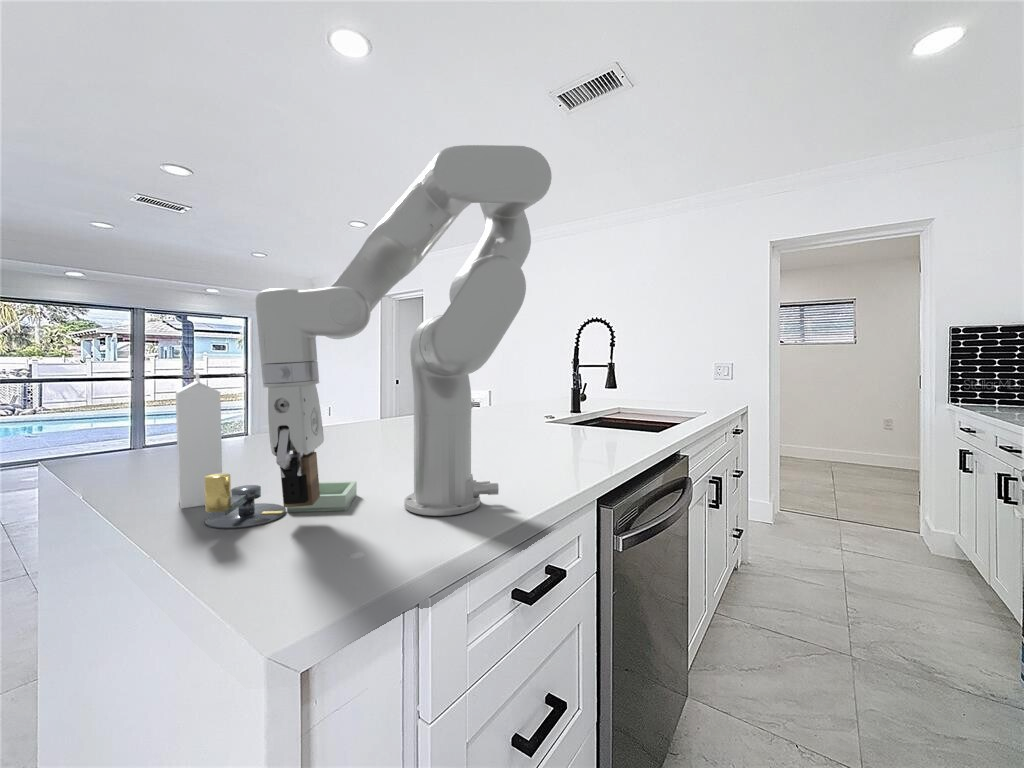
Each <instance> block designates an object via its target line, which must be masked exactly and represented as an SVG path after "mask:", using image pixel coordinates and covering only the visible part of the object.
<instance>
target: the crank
mask: <svg viewBox="0 0 1024 768" xmlns="http://www.w3.org/2000/svg"><path fill="white" fill-rule="evenodd" d="M231 485H232V484H231V474H230V473H222V474H213V475H208V476H206V477H205V505H204V507H205V508H204V511H205V512H206V513H210V514H211V516H226V515H227V514H229V513H230V512H232V511H233V510H235V509H236V508H238V507H239V506H240V505H242V504H243V503H245V502H246V501H248V500H253V499H254V500H256V499H259V498H261V496H262V488H261V486H260V485H258V484H257V485H256V484H247V485H240V486H236V487H233V488H232V487H231Z"/></svg>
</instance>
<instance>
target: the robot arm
mask: <svg viewBox="0 0 1024 768" xmlns="http://www.w3.org/2000/svg"><path fill="white" fill-rule="evenodd" d="M551 184H552V170H551V166H550V164H549V162H548V160H547V158H546V157H545V156H544V155H543V154H542V153H541V152H540V151H539V150H536V149H534V148H532V147H530V146H529V147H528V146H525V145H500V144H499V145H494V144H493V145H488V144H487V145H486V144H481V145H479V144H472V145H471V144H462V145H454V146H449V147H448V146H447V147H446V148H444V149H441V150H440V151H439V152H438V153H437V154H435V156H434V157H433V159H432V160H431V161H430V162H429V163H428V164H427V166H426V167H425V169H423V171H422V172H421V174H419V175H418V177H417V178H416V179H415V180H414V181H413V183H412V184H411V185H409V187H408V189H406V190H405V192H404V193H403V194H402V195H401V197H400V198H399V199H398V200H397V201H396V202H395V203H394V204H393V206H392V207H391V208H390V210H388V211H387V213H386V214H385V215H384V216H383V217H382V218H381V220H380V221H379V222H378V223H377V224H376V225H375V227H374V229H372V230H371V232H370V234H368V236H367V238H366V240H365V241H364V242H363V245H362V246H361V248H360V249H359V250H358V252H357V253H356V255H355V256H354V257H353V259H352V260H351V261H350V262H349V263H348V265H347V266H346V267H345V268H344V270H343V271H342V272H341V273H340V275H338V276H337V278H336V279H335V280H334V282H333V283H332V284H331V285H330V286H329V287H323V288H321V287H320V288H314V289H298V288H287V287H284V288H283V287H282V288H281V287H279V288H268V289H264V290H261V291H259V292H258V293H257V295H256V297H255V311H256V313H255V314H256V325H257V333H258V335H257V336H258V345H259V347H258V348H259V357H260V364H261V365H260V368H261V378H262V388H267V408H268V409H267V417H268V419H267V420H268V435H269V443H270V450H271V454H272V455H273V456H275V457H276V459H275V460H276V464H277V466H279V469H280V468H281V470H280V478H281V477H282V481H281V487H282V486H283V493H282V498H283V497H284V503H285V504H298V503H306V502H307V501H308V490H307V478H306V475H303V454H304V455H308V454H309V453H311V452H315V451H316V449H318V448H319V447H320V446H321V445H322V444H323V443H324V440H325V435H324V427H323V420H322V412H321V411H322V410H321V405H320V397H319V393H318V389H317V384H320V376H319V362H318V352H317V351H318V350H317V340H316V338H317V336H318V337H319V336H320V337H325V338H329V339H332V340H345V339H349V338H352V337H356V336H358V335H359V334H360V333H361V332H363V331H364V330H365V328H367V326H368V325H369V322H370V319H371V315H372V311H373V310H374V308H375V307H377V305H378V304H379V302H381V300H382V299H383V298H384V297H385V296H386V295H387V294H388V293H389V291H391V290H392V288H393V287H395V286H396V285H397V284H398V283H399V282H401V281H403V279H404V278H405V277H407V276H408V275H409V274H411V273H412V272H413V271H414V270H415V268H416V267H418V266H419V265H420V263H421V262H422V261H423V260H424V259H425V258H426V256H427V255H428V254H429V252H430V251H431V250H432V249H433V248H434V247H435V245H436V243H437V242H438V241H439V240H440V239H441V238H442V236H443V235H444V234H445V232H446V231H448V229H450V226H451V225H453V223H454V222H455V220H456V219H457V218H458V217H459V216H460V214H461V213H462V212H463V211H464V210H465V209H466V208H468V207H469V206H470V205H472V204H479V205H480V210H481V211H482V215H483V218H484V223H485V226H484V227H485V229H484V231H483V233H482V236H481V237H480V240H479V242H477V245H476V246H475V248H474V249H473V251H472V252H471V254H470V255H469V257H467V260H466V261H465V263H464V264H463V266H462V267H461V268H460V269H459V271H458V272H457V273H456V274H455V276H454V278H453V280H452V282H451V284H450V288H449V293H448V295H449V302H450V304H449V306H448V307H447V309H445V311H444V313H443V314H441V315H436V316H433V317H430V318H428V319H426V320H424V321H423V322H421V324H419V326H417V328H416V330H415V331H414V333H413V335H412V337H411V341H410V350H409V355H410V366H411V374H412V375H411V376H412V385H413V386H412V387H413V493H410V494H409V495H406V497H405V498H404V501H403V502H404V508H405V509H406V510H407V511H408V512H411V513H414V514H417V515H421V516H429V517H431V516H432V517H442V516H443V517H444V516H457V515H461V514H465V513H469V512H471V511H474V510H476V509H477V508H478V507H479V506H480V505H481V496H480V495H488V496H495V495H499V493H500V492H499V483H498V482H491V481H490V480H489V481H488V480H487V481H485V480H484V481H477V480H476V479H475V480H474V476H473V473H472V389H471V382H470V376H469V375H470V374H472V373H474V372H477V371H478V370H480V369H481V368H483V366H484V365H486V363H487V362H488V360H489V359H490V357H492V355H493V354H494V352H495V350H496V349H497V348H498V346H499V344H500V343H501V341H502V339H503V338H504V336H505V334H506V333H507V331H508V330H509V328H510V326H511V325H512V323H513V322H514V320H515V318H516V317H517V315H518V314H519V312H520V310H521V308H522V306H523V303H524V301H525V298H526V294H527V293H526V291H527V281H526V277H525V274H524V271H523V269H522V267H523V265H524V263H525V262H526V261H527V260H526V259H527V258H528V256H529V254H530V250H531V244H532V238H531V237H532V236H531V229H530V225H529V221H528V217H527V215H526V212H525V210H526V209H528V208H530V207H531V206H533V205H535V204H536V203H538V202H539V201H541V200H542V199H543V198H544V197H545V195H547V193H548V192H549V189H550V187H551ZM291 451H292V453H290V452H291ZM294 453H298V454H294ZM289 454H291V455H289ZM295 458H297V465H296V462H295V461H294V460H291V459H295Z"/></svg>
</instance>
